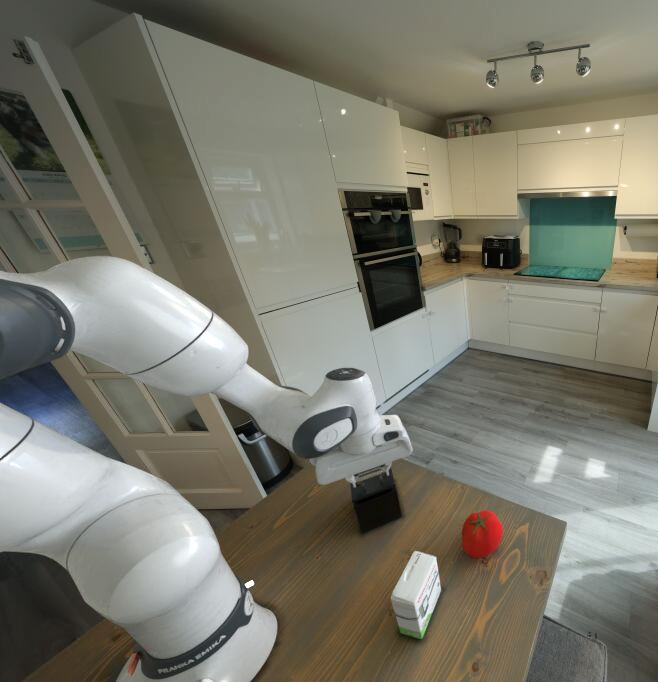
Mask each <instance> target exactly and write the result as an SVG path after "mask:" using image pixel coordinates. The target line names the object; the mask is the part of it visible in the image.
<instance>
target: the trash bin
mask: <svg viewBox="0 0 658 682" xmlns="http://www.w3.org/2000/svg"><path fill="white" fill-rule="evenodd" d="M399 499H400V498H399V495H398V489H397V485H396V486H395V487H392V488H390V489H387V490H385V491H382V492H380V493H377V494H375V495H372V496H370V497H367V498H364V499H362V500H359V501H357V502H354V503H353V508H354V513H355V515H356V518H357V519H356V520H357V522H358V525H359V528H360V531H361V532H360V533H361V534H365V533H368V532H370V531H373V530H374V529H377V528H379V527H381V526H384V525H386V524H388V523H391V522H393V521H395V520H398V519H399V518H402V517H403V513H402V508H401V504H400V500H399Z"/></svg>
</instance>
